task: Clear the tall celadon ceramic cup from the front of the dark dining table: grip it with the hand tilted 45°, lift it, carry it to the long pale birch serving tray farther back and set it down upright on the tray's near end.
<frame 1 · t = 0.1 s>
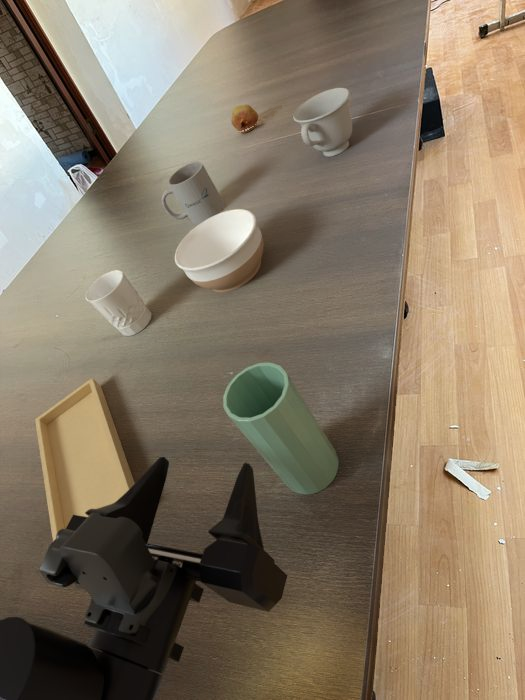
hand: (204, 461, 44), 15 cm above the table, tool horizontal, fingers open, 9 cm apart
cup: (310, 466, 56), on the table
fruit: (250, 130, 135), on the table
teacup: (333, 153, 105), on the table
mug: (200, 214, 113), on the table
tray: (87, 463, 73), on the table
white cup: (137, 324, 93), on the table
bowl: (235, 272, 91), on the table
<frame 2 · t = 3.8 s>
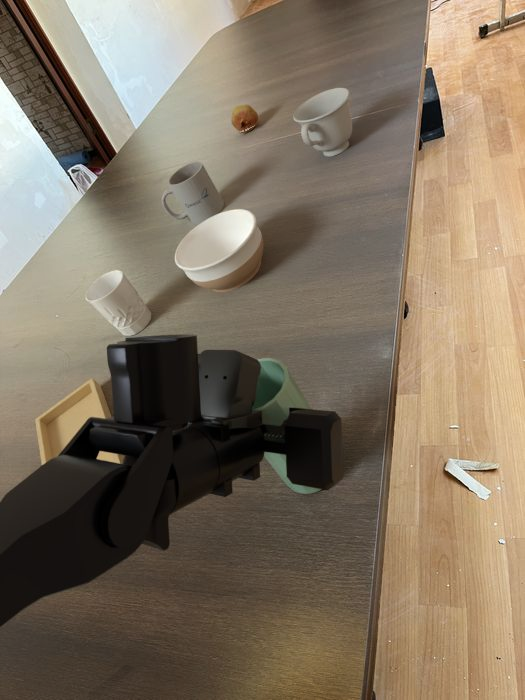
hand: (288, 419, 52), 8 cm above the table, tool tilted 45°, fingers closed on cup, 7 cm apart
cup: (310, 466, 56), on the table, touching gripper
everything else where it was.
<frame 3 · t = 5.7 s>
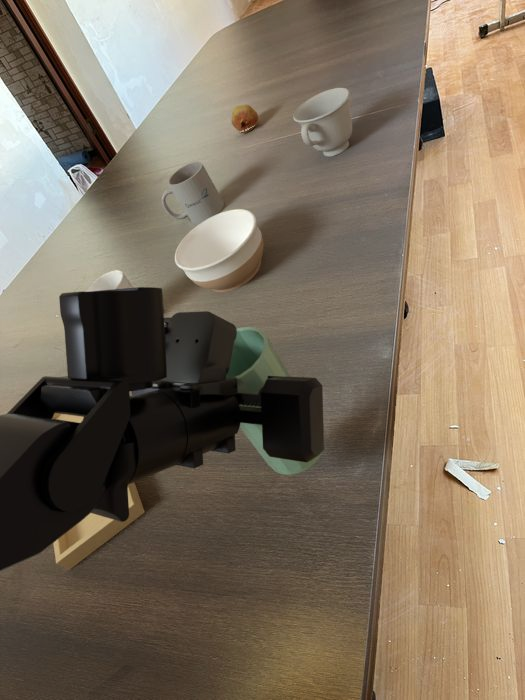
hand: (270, 394, 49), 12 cm above the table, tool tilted 45°, fingers closed on cup, 7 cm apart
cup: (295, 447, 53), point 5 cm above the table, touching gripper
everything else where it was.
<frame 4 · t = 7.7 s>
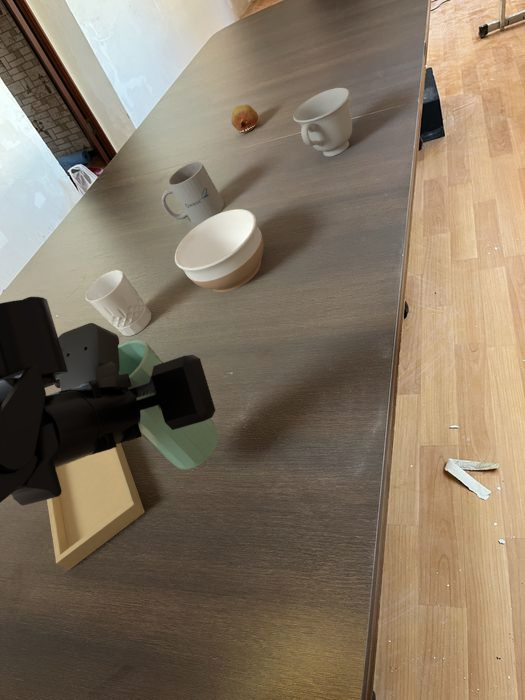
hand: (161, 399, 56), 12 cm above the table, tool tilted 45°, fingers closed on cup, 7 cm apart
cup: (194, 444, 59), point 5 cm above the table, touching gripper
everything else where it was.
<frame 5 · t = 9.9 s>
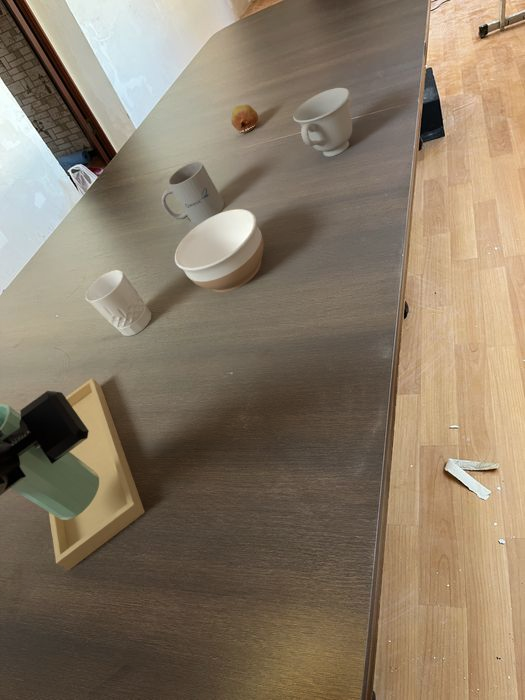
hand: (33, 457, 59), 12 cm above the table, tool tilted 45°, fingers closed on cup, 7 cm apart
cup: (77, 494, 63), point 5 cm above the table, touching gripper
everything else where it was.
when the fingers open (8 cm above the table, at t = 11.9 s): cup stays where it is, resting on tray.
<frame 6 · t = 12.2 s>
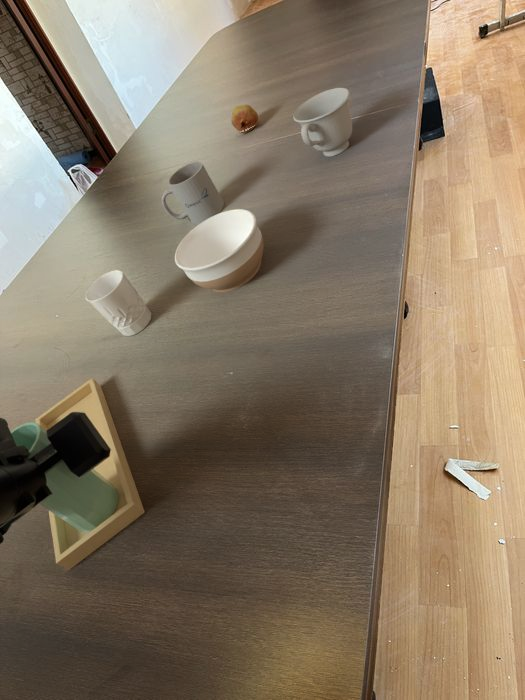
hand: (54, 473, 61), 8 cm above the table, tool tilted 45°, fingers open, 9 cm apart
cup: (97, 508, 65), point 1 cm above the table, touching tray
everything else where it was.
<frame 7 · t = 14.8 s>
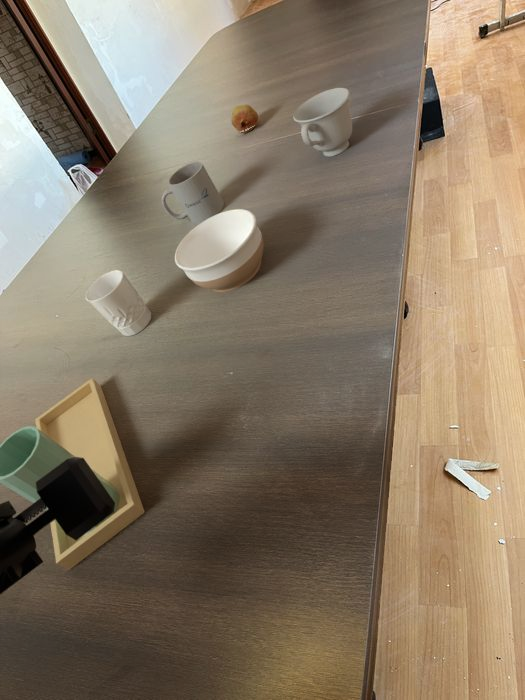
hand: (47, 524, 51), 12 cm above the table, tool tilted 45°, fingers open, 9 cm apart
nothing on the table moved.
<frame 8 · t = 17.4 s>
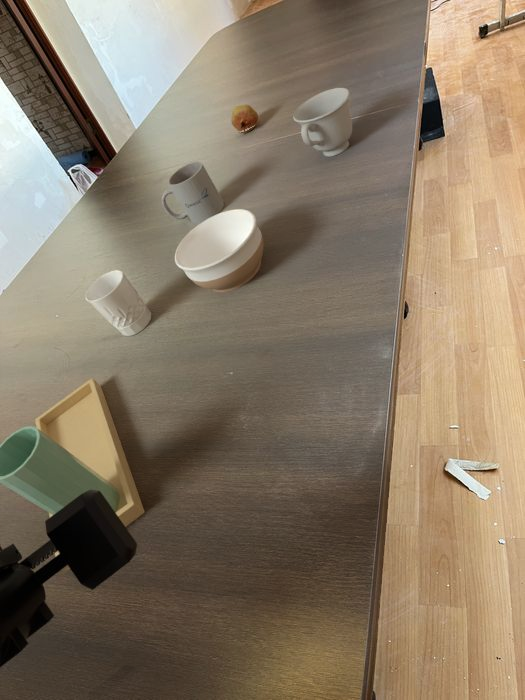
hand: (56, 561, 45), 14 cm above the table, tool tilted 45°, fingers open, 9 cm apart
nothing on the table moved.
at the end: cup inside the target area in the tray (0.6 cm from its centre), point 0.6 cm above the tray's base; cup tilted 0°; the gripper is holding nothing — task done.
